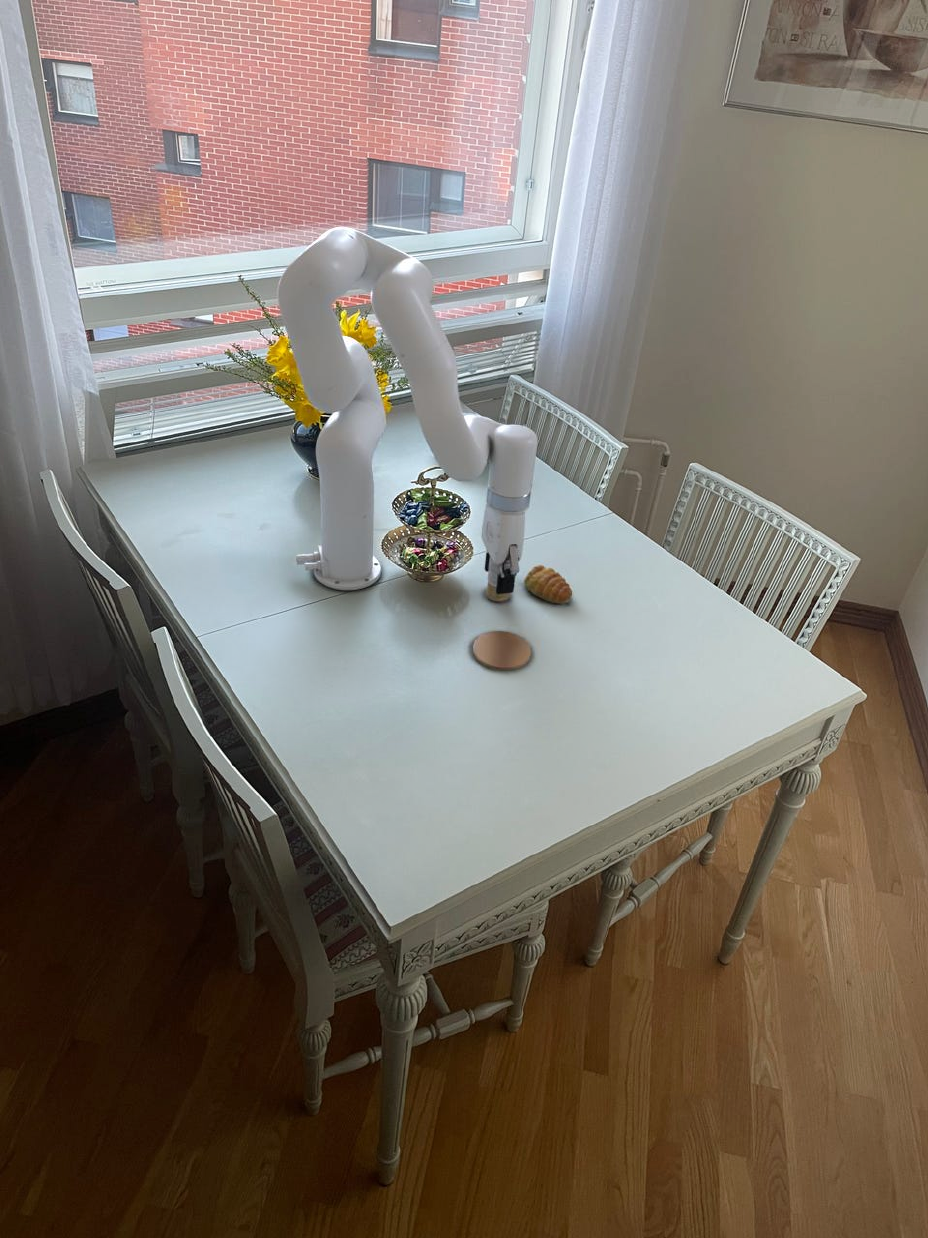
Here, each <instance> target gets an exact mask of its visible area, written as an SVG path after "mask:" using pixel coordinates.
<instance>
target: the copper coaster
mask: <svg viewBox="0 0 928 1238" xmlns="http://www.w3.org/2000/svg"><path fill="white" fill-rule="evenodd" d="M472 653H473V656H474V657H475V659H476V660H477V661H478V662H479V663H480V664H482V665H484V666H485V667H487V668H490V669H493V670H498V671H513V670H518V669H519V668H522V667H524V666H525V665H526V664H527V663H528V662H529V661H530V659H531V657H532V656H531V655H532V649H531V646H530V644H529V643H528V641H526V640H525V639H524V638H523V637H521V636H520V635H518V634H516V633H513V632H510V631H505V630H504V631H503V630H494V631H488V632H485V633H482V634H481V635H479V636H478V637H477V638H476V639H475V640H474V642H473V645H472Z"/></svg>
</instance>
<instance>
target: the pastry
mask: <svg viewBox="0 0 928 1238" xmlns="http://www.w3.org/2000/svg"><path fill="white" fill-rule="evenodd" d="M523 584H524V585H525V587H526V589H527V590H528V591H529V592H531V593H532V594H533V595H534V596H536V597H539V598H541V599H542V600H545V601H547V602H550V603H553V604H560V605H562V604H565V603H567V602H569V601H570V600H571V598H572V597H573V590H572V588H571V587H570V584H569V583H568V582H567V581H566V579H565V578H564V577H563V576H562V575H561V574H560V572H557V571H555V570H554V568H552V567H549V568H548V567H547V568H546V567H545V566H544V565H543V564H539V565H535V566H534V567H532V569H531V570H529V571H528V573H527V574H526V576H525V578H524V580H523Z"/></svg>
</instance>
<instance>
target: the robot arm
mask: <svg viewBox="0 0 928 1238" xmlns="http://www.w3.org/2000/svg"><path fill="white" fill-rule="evenodd" d="M353 286H354V287H356V288H357V289H360V290H363V291H364V292H367V293H369V294H370V305H371V309H372V311H373V314H374V316H375V319H376V320H377V322H378V324H379V326H380V328H381V330H382V332H383V334H384V336H385V338H386V340H387V341H388V343H389V345H390V347H391V349H392V351H393V353H394V355H395V357H396V358H397V360H398V364H399V365H400V367H401V369H402V371H403V373H404V375H405V377H406V379H407V382H408V385H409V390H410V393H411V398H412V402H413V405H414V409H415V412H416V416H417V420H418V423H419V427H420V429H421V432H422V434H423V437H424V440H425V442H426V443H427V445H428V447H429V448H430V451H431V453H432V455H433V457H434V458H435V460H436V462H437V464H438V466H439V467H440V469H441V471H443V473H445V475H447V476H448V477H449V478H451V479H452V480H454V481H456V482H461V483H467V482H468V483H469V482H472V481H474V480H476V479H477V478H478V477H480V476H481V474H483V472H484V470H485V468H486V466H487V463H489V469H488V470H489V471H488V479H487V480H488V481H487V491H486V499H485V502H486V503H485V509H484V515H483V520H482V527H481V533H480V534H481V541H482V543H483V545H484V547H485V549H486V553H485V560H484V561H485V562H484V571H485V572H486V573H487V572H488V571H489V562H490V556H491V558H492V560H493V561H494V562H495V563H496V564H499V563H500V574H499V575H498V577H497V586H496V593H497V594H506V593H510V594H512V593H514V590H515V582H516V577H517V574H518V573H520V565H519V562H520V561H521V560H522V556H523V551H524V541H525V529H526V512H527V511H528V510H529V508H530V503H531V495H532V488H533V479H534V474H535V466H536V458H537V450H538V443H539V442H538V436H537V434H536V433H535V432H534V431H533V430H532V429H531V428H529V427H527V426H525V425H520V424H504V423H501V422H498V421H496V420H493V419H491V420H489V419H490V418H489V419H487V418H488V417H486V418H484V417H485V416H483V417H480V416H481V415H479V416H476V415H477V414H474V415H465V416H464V415H463V413H464V412H463V408H462V403H461V400H460V393H459V376H458V375H459V373H458V372H459V371H458V362H457V357H456V354H455V352H454V350H453V348H452V346H451V343H450V342H449V340H448V337H447V335H446V333H445V331H444V329H443V327H442V325H441V324H440V321H439V319H438V317H437V315H436V312H435V310H434V308H433V307H432V304H431V302H430V301H431V300H432V298H433V295H434V292H435V282H434V278H433V275H432V273H431V272H430V270H429V268H428V267H427V266H426V265H425V264H424V263H423V262H421V261H419V260H418V259H416V258H415V257H414V256H411V255H409V254H407V253H405V252H404V251H401V250H399V249H397V248H396V247H393V246H391V245H389V244H387V243H384V242H382V241H380V240H378V239H377V238H374V237H372V236H370V235H368V234H366V233H364V232H361V231H359V230H356V229H354V228H352V227H351V228H350V227H346V226H337V227H334V228H331V229H329V230H327V231H325V232H324V233H323V234H321V235H320V236H319V237H318V238H317V239H316V240H315V241H313V242H312V243H311V244H310V245H309V246H307V248H305V249H304V250H303V251H302V252H301V253H299V255H298V256H297V257H296V258H294V259H293V261H292V262H291V263H290V264H289V265H288V266H287V267H286V268H285V270H284V271H283V273H282V275H281V277H280V279H279V281H278V285H277V295H276V296H277V304H278V309H279V313H280V316H281V319H282V322H283V325H284V328H285V331H286V334H287V336H288V340H289V344H290V348H291V351H292V355H293V358H294V361H295V365H296V368H297V371H298V374H299V378H300V382H301V385H302V388H303V390H304V391H303V392H304V393H305V397H306V398H307V401H309V403H310V405H312V407H313V408H315V409H316V410H317V411H318V412H321V413H324V414H330V416H329V417H328V419H327V421H325V423H324V425H323V427H322V428H321V430H320V432H319V434H318V437H317V440H316V445H315V458H316V464H317V471H318V480H319V499H320V535H321V537H320V538H321V541H320V542H321V545H317V547H318V548H317V551H313V553H303V554H300V553H299V554H296V555H295V557H296V558H295V559H296V560H295V561H296V565H297V566H300V565H304V571H313V574H314V578H316V580H317V581H318V582H319V583H320V584H322V585H324V586H326V587H327V588H329V589H333V590H338V591H339V590H340V591H356V590H361V589H365V588H368V587H369V586H371V585H373V584H375V583H376V582H377V581H378V580H379V578H380V576H381V574H382V565H381V563H380V561H379V559H378V558H376V557H375V556H374V527H375V526H374V521H375V519H374V518H375V482H374V473H373V458H374V455H375V452H376V450H377V448H378V446H379V444H380V443H381V440H382V439H383V436H384V434H385V433H386V427H387V415H386V410H385V405H384V402H383V399H382V394H381V391H380V387H379V383H378V380H377V376H376V372H375V368H374V365H373V362H372V358H371V357H370V355H369V353H368V351H367V349H366V348H365V347H364V346H363V345H362V344H361V343H360V342H359V341H357V340H356V339H354V338H352V337H350V336H347V335H346V336H345V335H343V331H342V327H341V324H340V321H339V319H338V316H337V314H336V313H335V311H334V310H333V305H334V303H335V301H337V300H338V299H340V298H341V297H343V296H344V295H345V294H346V293H347V292H348V291H350V289H351V288H352V287H353ZM492 420H493V421H492ZM507 556H509V559H506V557H507ZM506 563H510V567H509V569H506V570H505V569H504V564H506Z"/></svg>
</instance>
